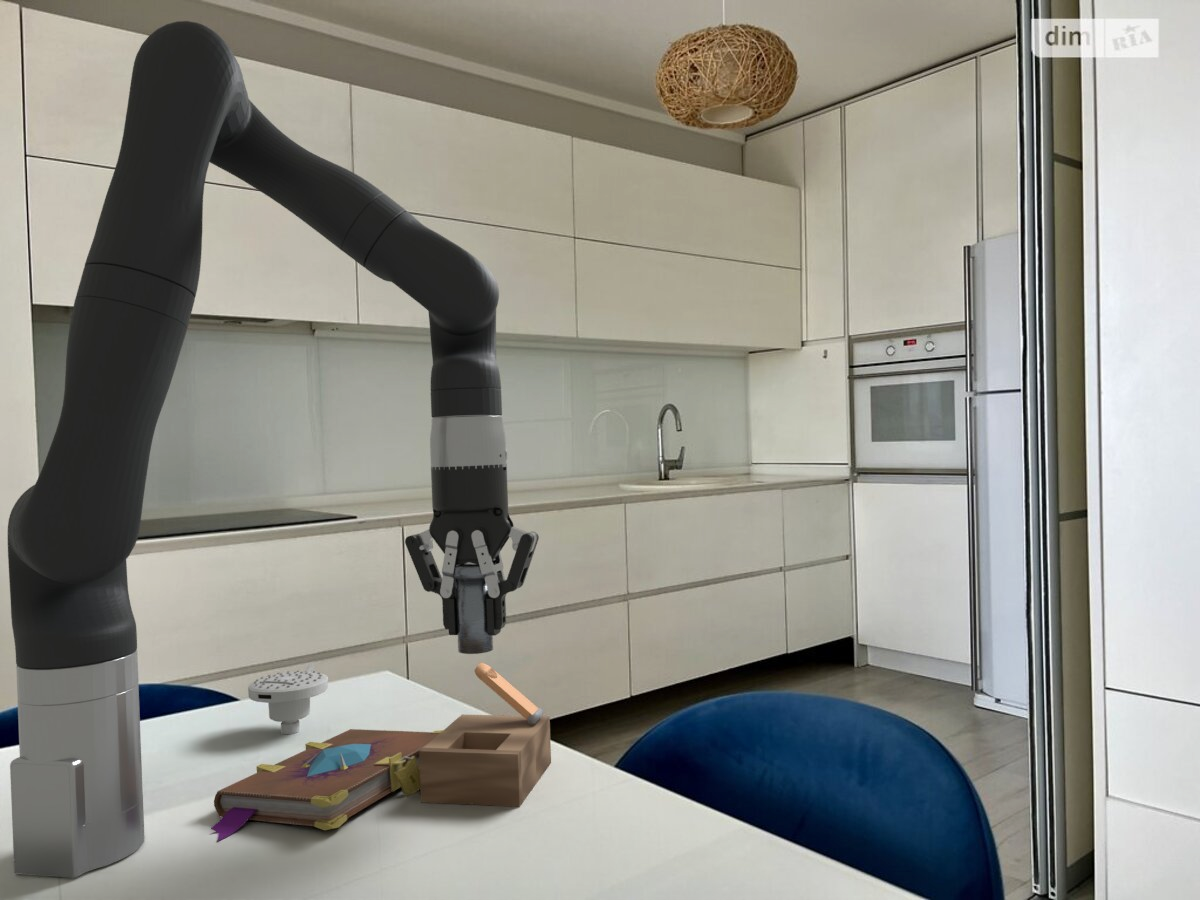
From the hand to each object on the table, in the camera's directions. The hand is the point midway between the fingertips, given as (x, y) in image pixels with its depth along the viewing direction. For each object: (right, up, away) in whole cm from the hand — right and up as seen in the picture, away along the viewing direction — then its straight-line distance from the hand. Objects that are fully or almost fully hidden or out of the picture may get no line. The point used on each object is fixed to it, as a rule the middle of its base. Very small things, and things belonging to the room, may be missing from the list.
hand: (475, 632), depth 90 cm
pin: (0, -2, 0) cm, 2 cm away
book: (-14, -17, 0) cm, 22 cm away
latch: (+2, -8, +6) cm, 10 cm away
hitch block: (+1, -16, +2) cm, 16 cm away
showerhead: (-26, -17, +22) cm, 38 cm away
